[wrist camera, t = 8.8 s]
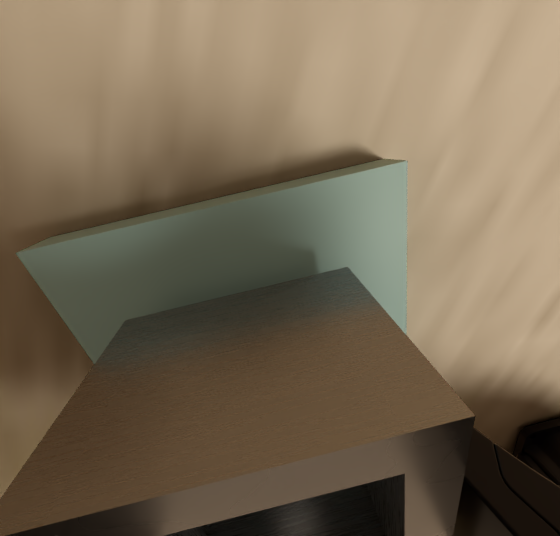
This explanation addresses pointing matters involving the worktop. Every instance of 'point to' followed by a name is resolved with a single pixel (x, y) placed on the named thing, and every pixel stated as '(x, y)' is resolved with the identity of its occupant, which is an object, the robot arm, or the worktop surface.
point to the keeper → (230, 250)
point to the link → (253, 426)
